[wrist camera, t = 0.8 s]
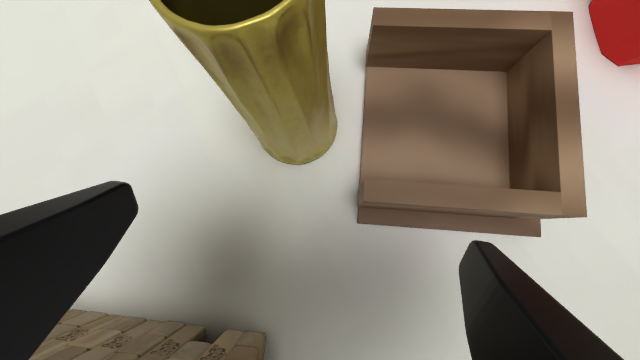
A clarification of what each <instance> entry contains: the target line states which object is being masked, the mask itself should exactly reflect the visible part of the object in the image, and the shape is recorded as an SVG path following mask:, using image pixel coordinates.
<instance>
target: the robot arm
mask: <svg viewBox="0 0 640 360" xmlns="http://www.w3.org/2000/svg"><path fill="white" fill-rule="evenodd" d="M137 213H138V204H137V201H136V198H135V196H134V193H133V190H132V187H131V186H130V185H129V184H128V183H126V182H120V181H109V182H106V183H103V184H99V185H96V186H93V187H90V188H86V189H83V190H80V191H77V192H73V193H70V194H67V195H63V196H60V197H57V198H54V199H50V200H47V201H44V202H41V203H37V204H34V205H31V206H28V207H24V208H21V209H18V210H15V211H11V212H8V213H5V214H1V215H0V360H29V359H30V358H31V357H32V355H33V354H34V353H35V351H36V350H37V349H38V348H39V346H40V345H41V344H42V343H43V341H44V340H45V339H46V338H47V336H48V335H49V334H50V333H51V331H52V330H53V329H54V327H55V326H56V325H57V324H58V322H59V321H60V320H61V319H62V317H63V316H64V315H65V314H66V312H67V311H68V310H69V309H70V307H71V306H72V305H73V303H74V302H75V301H76V300H77V298H78V297H79V296H80V295H81V293H82V292H83V291H84V290H85V288H86V287H87V286H88V285H89V283H90V282H91V281H92V279H93V278H94V277H95V276H96V274H97V273H98V272H99V271H100V269H101V268H102V267H103V265H104V264H105V263H106V261H107V260H108V258H109V257H110V255H111V254H112V252H113V251H114V249H115V248H116V246H117V245H118V243H119V242H120V240H121V239H122V237H123V235H124V234H125V232H126V231H127V229H128V228H129V226H130V225H131V223H132V222H133V220H134V219H135V217H136V215H137ZM459 277H460V286H461V295H462V304H463V312H464V321H465V328H466V334H467V339H468V344H469V348H470V353H471V357H472V360H624V359H623V358H621V357H620V356H619V355H618V354H617V353H616V352H615V351H613V350H612V349H611V348H610V347H609V346H608V345H607V344H605V343H604V342H603V341H602V340H601V339H600V338H599V337H598V336H596V335H595V334H594V333H593V332H592V331H591V330H590V329H588V328H587V327H586V326H585V325H584V324H583V323H582V322H581V321H579V320H578V319H577V318H576V317H575V316H574V315H573V314H571V313H570V312H569V311H568V310H567V309H566V308H565V307H564V306H562V305H561V304H560V303H559V302H558V301H557V300H556V299H554V298H553V297H552V296H551V295H550V294H549V293H548V292H546V291H545V290H544V289H543V288H542V287H541V286H540V285H539V284H537V283H536V282H535V281H534V280H533V279H532V278H531V277H529V276H528V275H527V274H526V273H525V272H524V271H523V270H522V269H520V268H519V267H518V266H517V265H516V264H515V263H514V262H512V261H511V260H510V259H509V258H508V257H507V256H506V255H505V254H503V253H502V252H501V251H500V250H499V249H498V248H497V247H495V246H494V245H493V244H491V243H489V242H483V241H477V240H474V241H472V242H471V243H470V244H469V246H468V248H467V250H466V252H465V254H464V256H463V258H462V260H461V262H460V265H459Z"/></svg>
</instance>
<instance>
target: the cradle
mask: <svg viewBox="0 0 640 360" xmlns="http://www.w3.org/2000/svg"><path fill="white" fill-rule="evenodd" d="M575 217H587V210H586V195H585V181H584V167H583V152H582V138H581V123H580V109H579V95H578V80H577V66H576V51H575V37H574V23H573V12H557V11H512V10H466V9H421V8H376V7H374V9H373V15H372V21H371V28H370V34H369V39H368V46H367V52H366V81H365V99H364V116H363V134H362V152H361V170H360V187H359V193H358V223H364V224H376V225H389V226H402V227H415V228H428V229H441V230H454V231H467V232H480V233H493V234H506V235H519V236H532V237H541V225H540V219H551V218H575Z"/></svg>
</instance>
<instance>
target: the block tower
mask: <svg viewBox="0 0 640 360" xmlns="http://www.w3.org/2000/svg"><path fill="white" fill-rule="evenodd" d="M204 334H205V327H203V326H198V325H190V324H189V325H185V324H184V323H181V322H173V321H167V322H161V321H153V320H149V321H146V319H143V318H137V317H124V316H117V315H108V314H107V313H100V312H87V311H82V310H70V311H69V310H68V311H67V312H66V314H65V315H64V316H63V317H62V319H61V320H60V321H59V322H58V324H57V325H56V326H55V327H54V329H53V330H52V331H51V333H50V334H49V335H48V336H47V338H46V339H45V340H44V341H43V343H42V344H41V345H40V346H39V348H38V349H37V350H36V351H35V353H34V354H33V355H32V357H31V358H30V359H29V360H263V357H264V348H265V340H266V334H265V333H259V332H251V331H246V332H243V331H238V330H232V329H227V330H225V331H224V332H223V334H222V335H221V336H220V337H219V338H218V339H217V340H216V341H215V342H214V343H213V344H210V343H206V342H203V341H204Z"/></svg>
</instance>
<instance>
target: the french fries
mask: <svg viewBox="0 0 640 360" xmlns="http://www.w3.org/2000/svg"><path fill="white" fill-rule="evenodd" d="M589 11H590V15H591V20H592V24H593V27H594V31H595V34H596V38H597V41H598V44H599V47H600V50H601V53H602V54H603V55H604V56H605V57H607V58H608V59H610V60H611V61H612V62H614V63H615V64H616V65H618V66H623V65H632V64H640V0H592V2H591V4H590V5H589Z"/></svg>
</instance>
